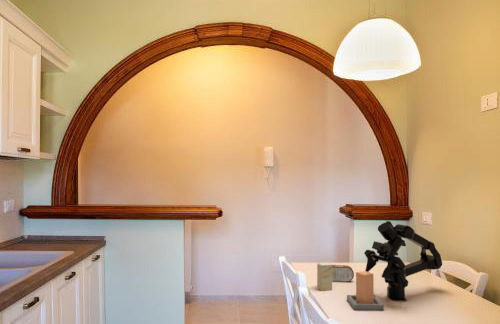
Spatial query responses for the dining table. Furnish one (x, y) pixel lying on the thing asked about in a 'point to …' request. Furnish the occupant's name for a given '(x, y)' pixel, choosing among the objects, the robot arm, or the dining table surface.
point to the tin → (342, 273)
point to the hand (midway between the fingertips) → (373, 274)
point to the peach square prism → (364, 288)
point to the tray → (374, 307)
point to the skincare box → (324, 276)
